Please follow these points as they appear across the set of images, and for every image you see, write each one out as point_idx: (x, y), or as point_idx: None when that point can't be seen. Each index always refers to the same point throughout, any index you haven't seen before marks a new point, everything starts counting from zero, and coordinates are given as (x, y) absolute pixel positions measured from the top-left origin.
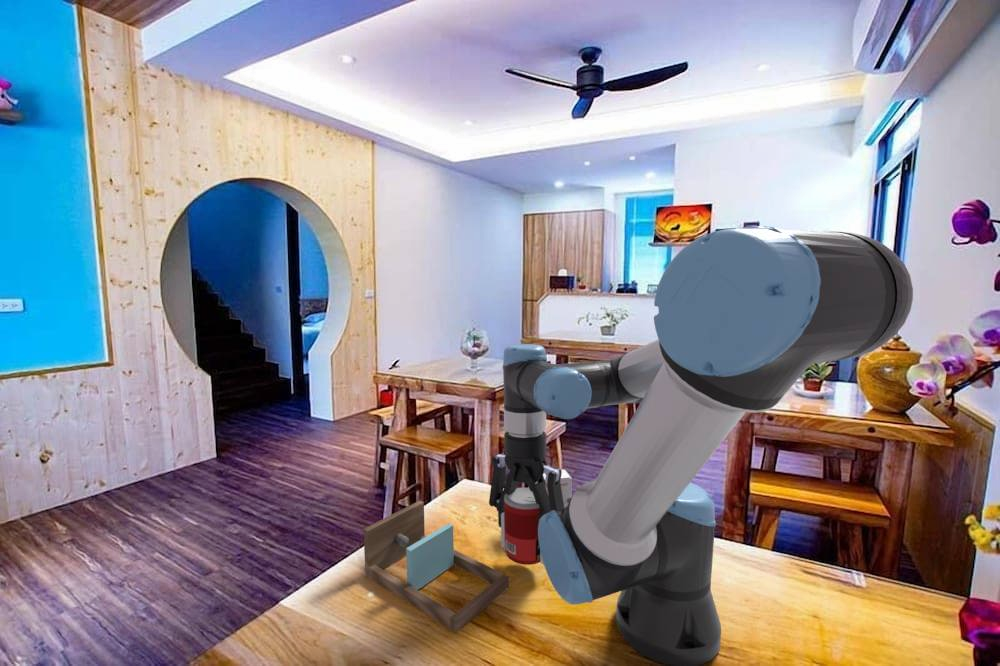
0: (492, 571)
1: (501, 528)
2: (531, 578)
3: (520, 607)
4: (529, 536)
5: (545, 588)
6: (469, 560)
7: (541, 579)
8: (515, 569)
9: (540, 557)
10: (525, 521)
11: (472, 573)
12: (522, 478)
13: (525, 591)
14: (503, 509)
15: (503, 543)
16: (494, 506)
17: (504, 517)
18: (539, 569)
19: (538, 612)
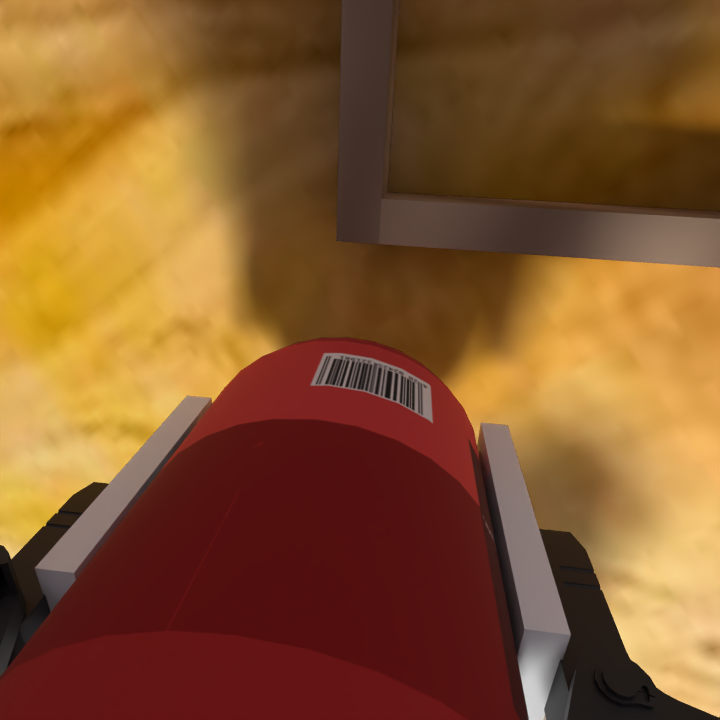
0: (453, 223)
1: (530, 514)
2: None
3: (206, 124)
4: (170, 469)
5: (203, 323)
6: (664, 234)
7: None
8: None
9: (197, 416)
10: (111, 572)
11: (601, 204)
12: None
13: (262, 250)
14: (568, 696)
15: (493, 439)
16: (705, 712)
17: (465, 580)
18: None
19: (119, 149)
